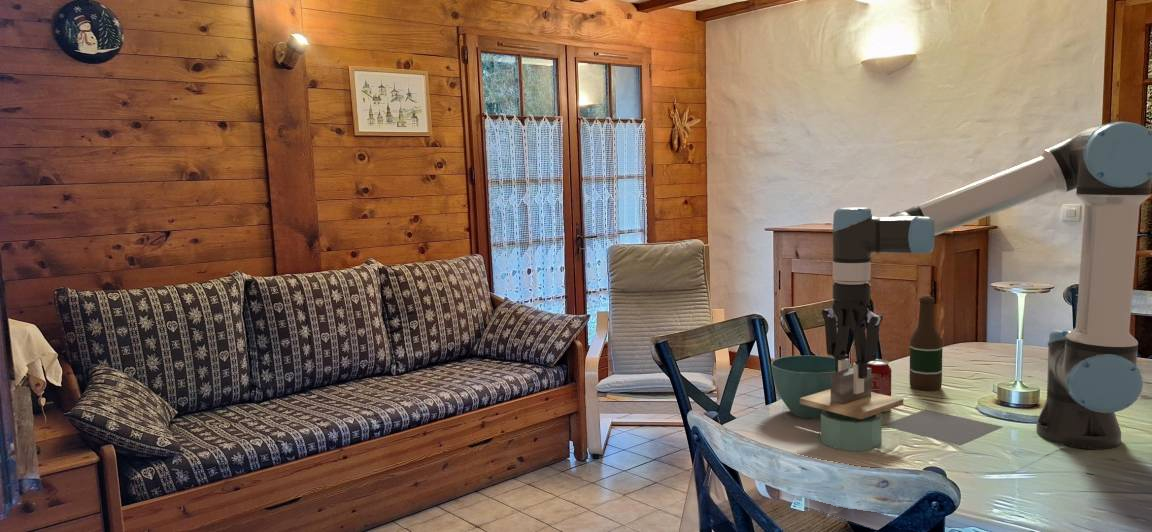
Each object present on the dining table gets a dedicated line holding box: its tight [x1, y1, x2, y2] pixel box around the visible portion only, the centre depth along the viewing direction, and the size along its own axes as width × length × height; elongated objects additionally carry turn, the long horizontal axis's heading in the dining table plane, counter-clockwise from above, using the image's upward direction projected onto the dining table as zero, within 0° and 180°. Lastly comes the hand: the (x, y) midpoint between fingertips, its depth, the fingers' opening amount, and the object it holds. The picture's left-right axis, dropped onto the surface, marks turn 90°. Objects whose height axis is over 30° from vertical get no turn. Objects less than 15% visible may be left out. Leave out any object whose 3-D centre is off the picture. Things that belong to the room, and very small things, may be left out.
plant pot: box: [770, 354, 852, 419], centre depth 191 cm, size 18×18×12 cm
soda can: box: [867, 358, 892, 413], centre depth 192 cm, size 7×7×12 cm
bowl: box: [820, 409, 883, 452], centre depth 171 cm, size 12×12×6 cm
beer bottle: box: [909, 295, 943, 392], centre depth 210 cm, size 8×8×24 cm
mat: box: [882, 409, 1003, 446], centre depth 178 cm, size 18×18×1 cm
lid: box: [800, 367, 904, 419], centre depth 171 cm, size 15×15×7 cm
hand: (850, 390), depth 171 cm, fingers closed on lid, 3 cm apart
